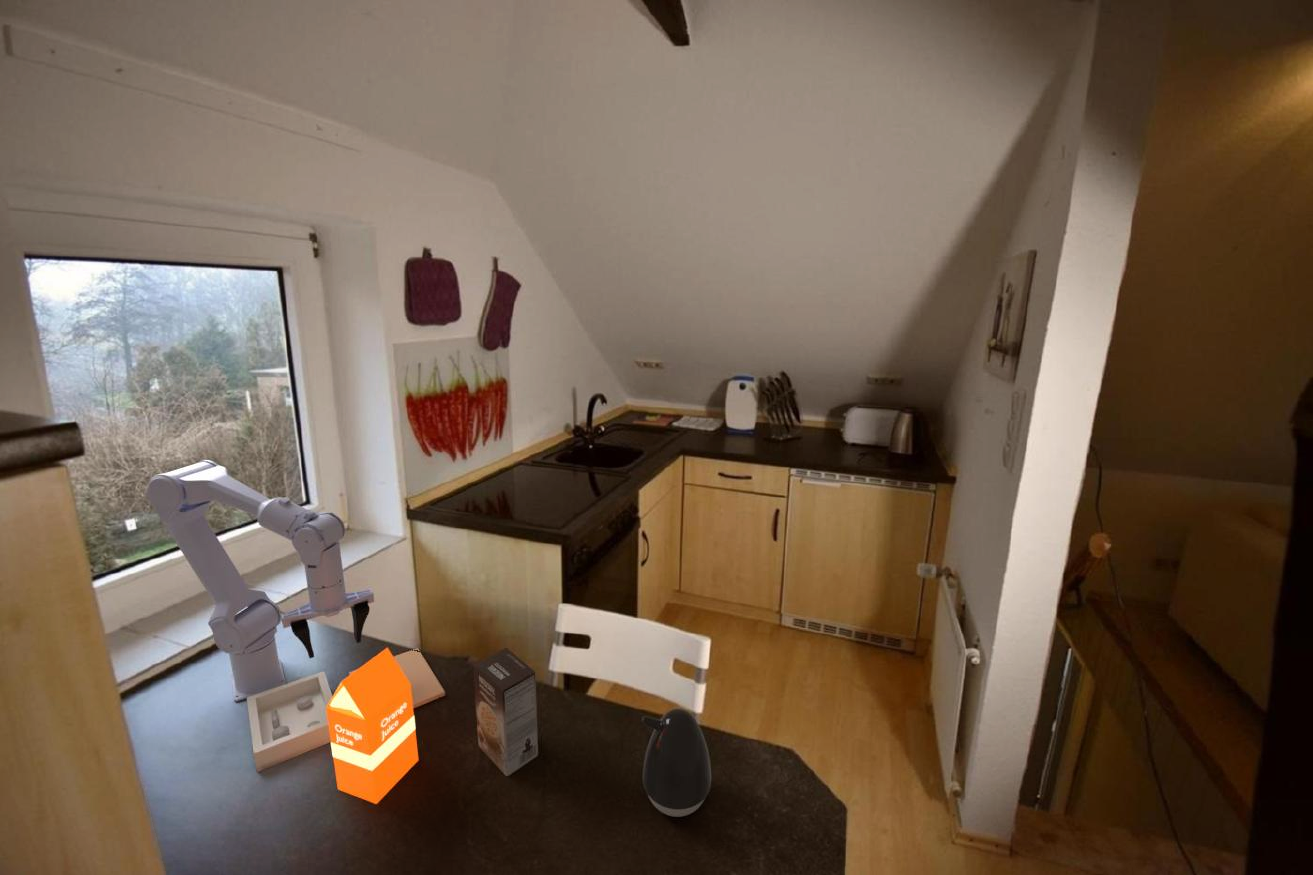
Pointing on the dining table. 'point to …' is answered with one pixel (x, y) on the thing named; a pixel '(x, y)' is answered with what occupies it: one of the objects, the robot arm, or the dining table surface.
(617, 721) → the dining table surface
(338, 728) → the orange juice
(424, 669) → the lid
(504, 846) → the dining table surface
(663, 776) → the pump dispenser
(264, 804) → the dining table surface
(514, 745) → the coffee box
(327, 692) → the parts tray
